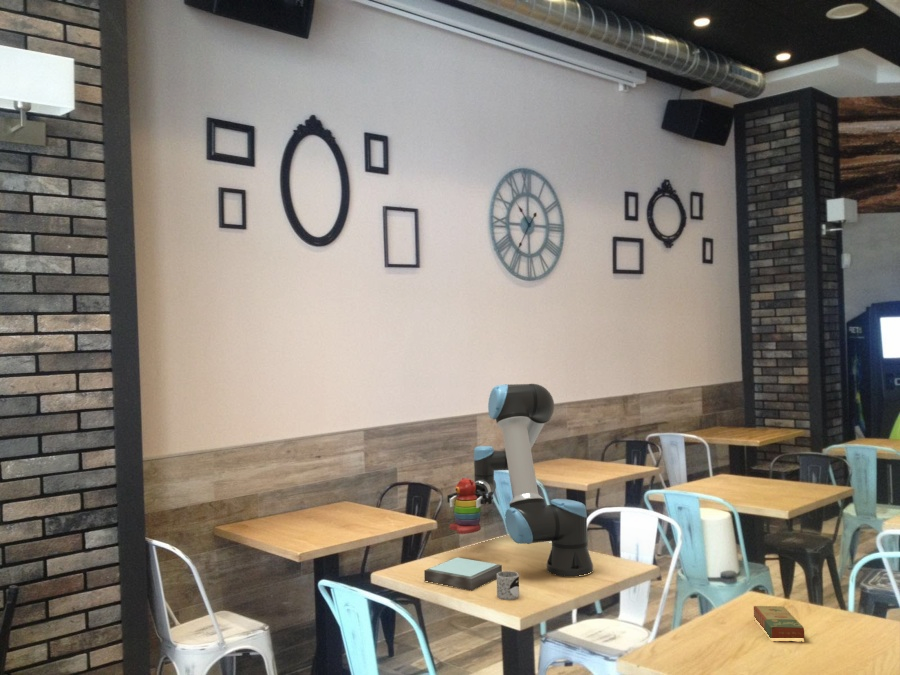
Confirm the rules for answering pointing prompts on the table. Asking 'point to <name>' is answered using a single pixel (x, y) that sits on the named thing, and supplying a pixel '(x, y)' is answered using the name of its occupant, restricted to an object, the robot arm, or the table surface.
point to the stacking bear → (466, 508)
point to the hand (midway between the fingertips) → (464, 503)
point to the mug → (507, 585)
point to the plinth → (463, 573)
